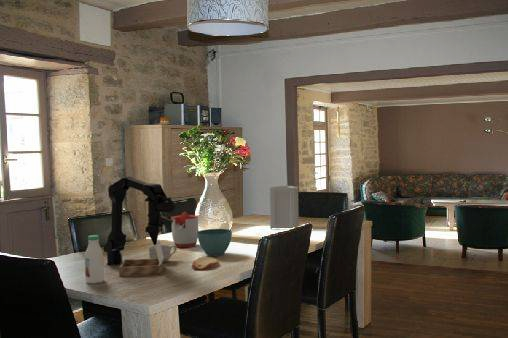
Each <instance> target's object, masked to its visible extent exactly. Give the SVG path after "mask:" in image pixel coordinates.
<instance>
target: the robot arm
mask: <svg viewBox="0 0 508 338" xmlns="http://www.w3.org/2000/svg"><path fill="white" fill-rule="evenodd" d="M131 188H132V189H134V190H137V191H140V192H141V193H142V194H143V195H144V196H146V198H145V199H144V202H147V211H148V213H147V218H148V219H147V220H148V222H147V226H146V227H145V228H144V229H145V231H144V232H145V233H147V234H148V235H149V237H150V240H151V243H152V244H153V246H155V245H156V243H157V241H158V240H159V239H158V238H159V233H160V232H161V231H162V228H164V226H167V227H168V228H172V223H173V219H172V218H171V217H172V216H171V215H169V214H170V213H172V212H173V211H174V210H175V207H176V206H175V203H174V201H173V200H172V198H171V197H168V196H167V195H166V192H165V191H164V190H163V189H164V188H162V185H161V184H160V183H147V182H145V181H142V180H139V179H137V178H135V177H134V178H133V177H132V176H123V177H121V178H120V179H119V180H117V181H116V182H114V183H112V184H110V185H109V186H108V191H107V192H108V198H109V200H110V201H111V230H110V232H109V234H108V236H107V241H106V244H105V245H104V246H103V248H102V249H103V253H106V255H107V257H106V258H107V259H106V261H107V263H106V265H108V266H109V265H121V264H122V263H123V253H122V251H124V250H125V245H126V243H127V240H126V239H127V235H126V234H125V233H124V232H123V201H124V200H125V198H126V196H127V192H128V190H130V189H131ZM163 213H169V214H168V215H167V216H163Z"/></svg>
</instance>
